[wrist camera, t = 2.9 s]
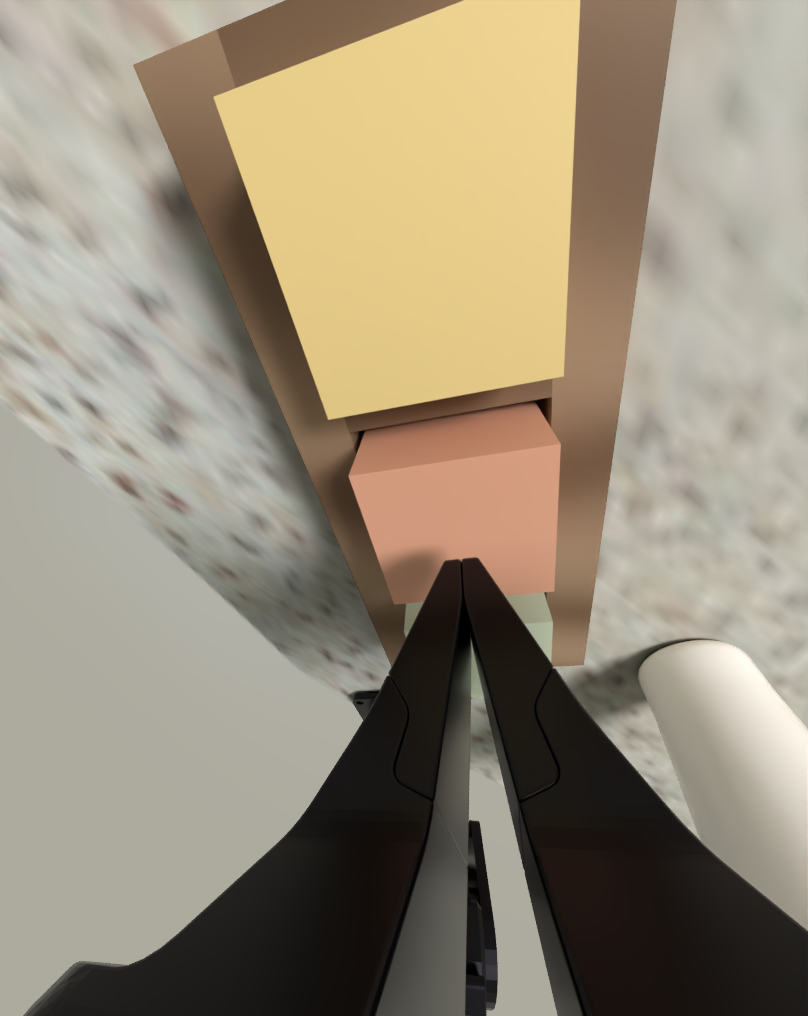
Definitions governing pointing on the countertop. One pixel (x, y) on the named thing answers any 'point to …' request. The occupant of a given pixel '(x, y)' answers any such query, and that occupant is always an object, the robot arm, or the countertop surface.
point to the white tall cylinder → (736, 763)
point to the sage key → (530, 612)
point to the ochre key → (421, 201)
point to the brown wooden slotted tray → (591, 275)
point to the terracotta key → (462, 498)
